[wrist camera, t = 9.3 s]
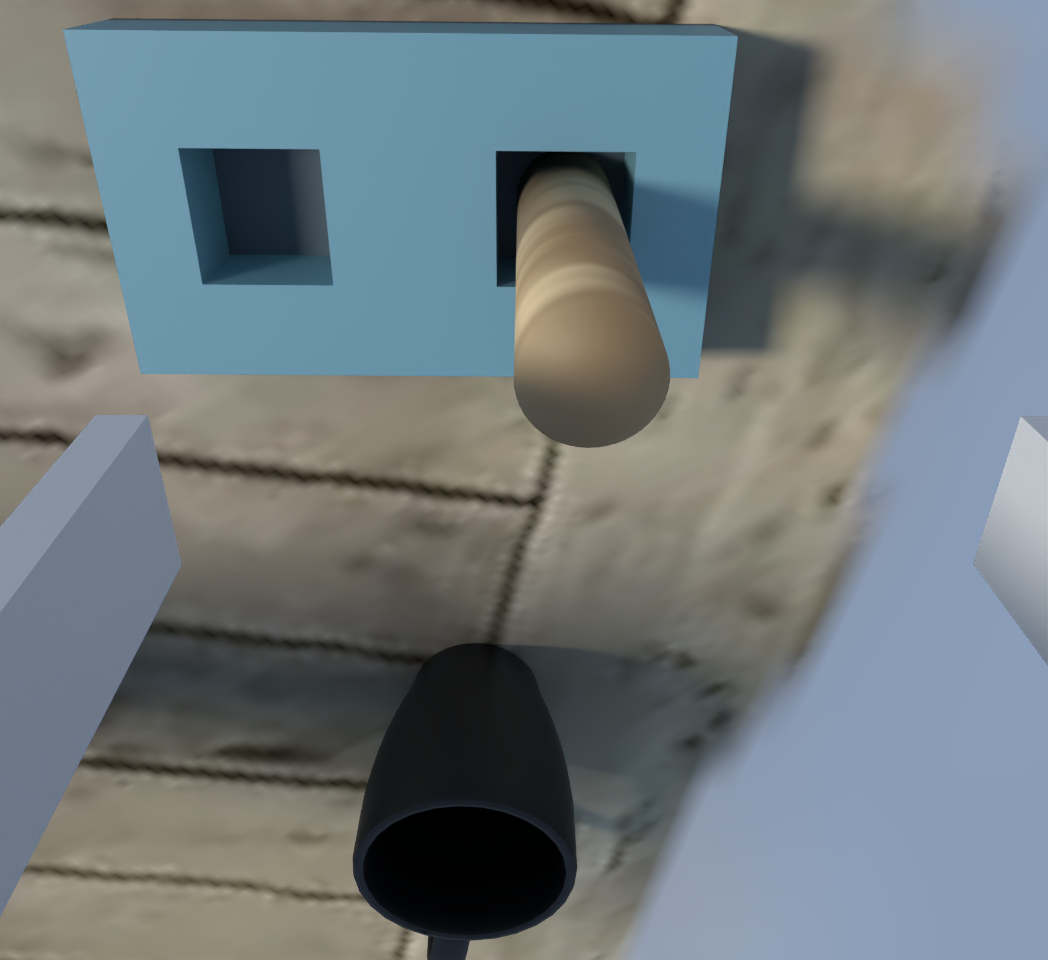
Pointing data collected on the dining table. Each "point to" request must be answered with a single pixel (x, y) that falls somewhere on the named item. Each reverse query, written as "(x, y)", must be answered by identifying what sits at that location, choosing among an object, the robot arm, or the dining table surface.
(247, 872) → the dining table surface
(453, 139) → the bore slab
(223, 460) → the dining table surface
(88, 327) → the dining table surface
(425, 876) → the mug
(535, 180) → the dowel
